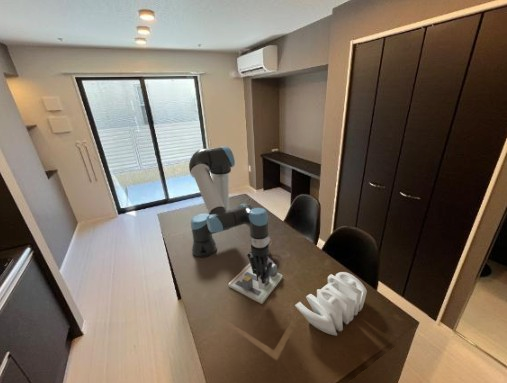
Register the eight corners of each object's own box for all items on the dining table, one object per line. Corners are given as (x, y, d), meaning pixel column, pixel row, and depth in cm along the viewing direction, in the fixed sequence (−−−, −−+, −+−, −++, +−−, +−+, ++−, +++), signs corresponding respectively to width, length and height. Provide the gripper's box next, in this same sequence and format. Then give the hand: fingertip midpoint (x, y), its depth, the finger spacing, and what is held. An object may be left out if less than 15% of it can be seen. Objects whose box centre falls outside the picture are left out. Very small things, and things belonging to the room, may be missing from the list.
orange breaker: (242, 288, 110) (242, 279, 108) (247, 283, 113) (246, 274, 111) (248, 291, 108) (248, 282, 106) (252, 286, 111) (252, 277, 109)
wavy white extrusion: (322, 349, 84) (324, 328, 80) (291, 318, 97) (291, 299, 93) (373, 302, 102) (377, 284, 98) (341, 281, 115) (343, 264, 111)
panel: (228, 286, 115) (227, 274, 112) (251, 264, 130) (250, 253, 127) (261, 304, 104) (261, 291, 101) (282, 277, 119) (282, 266, 116)
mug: (259, 260, 133) (259, 245, 129) (252, 252, 141) (252, 237, 137) (277, 254, 138) (277, 239, 134) (269, 246, 146) (269, 232, 142)
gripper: (242, 243, 97) (245, 287, 105) (268, 252, 90) (269, 298, 98) (252, 235, 103) (254, 277, 111) (277, 243, 96) (278, 287, 104)
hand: (261, 287), depth 105 cm, fingers closed
